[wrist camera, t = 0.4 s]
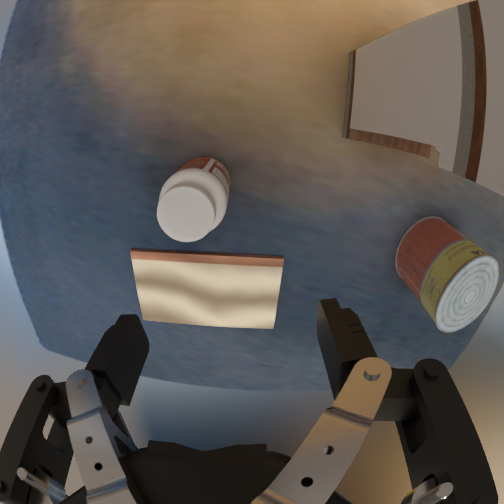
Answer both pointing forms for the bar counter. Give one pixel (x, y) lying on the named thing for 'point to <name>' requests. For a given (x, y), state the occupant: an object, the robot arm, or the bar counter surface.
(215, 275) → the board
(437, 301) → the canned food
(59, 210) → the bar counter surface
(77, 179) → the bar counter surface
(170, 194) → the pill bottle
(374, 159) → the bar counter surface
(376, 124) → the white square tower
